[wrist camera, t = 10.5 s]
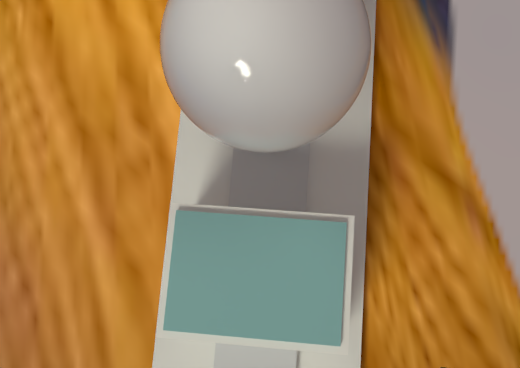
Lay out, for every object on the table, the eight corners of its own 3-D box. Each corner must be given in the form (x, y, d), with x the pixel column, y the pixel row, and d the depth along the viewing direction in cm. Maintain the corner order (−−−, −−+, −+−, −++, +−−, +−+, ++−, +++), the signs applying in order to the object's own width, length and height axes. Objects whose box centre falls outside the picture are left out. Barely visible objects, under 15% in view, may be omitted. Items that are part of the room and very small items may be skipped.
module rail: (356, 400, 22) (374, 435, 17) (154, 380, 22) (118, 408, 18) (378, -91, 26) (397, -171, 21) (206, -95, 26) (188, -173, 22)
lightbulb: (365, 162, 22) (430, 65, 12) (232, 209, 22) (173, 156, 12) (316, 38, 23) (334, -156, 13) (190, 82, 24) (100, -72, 13)
